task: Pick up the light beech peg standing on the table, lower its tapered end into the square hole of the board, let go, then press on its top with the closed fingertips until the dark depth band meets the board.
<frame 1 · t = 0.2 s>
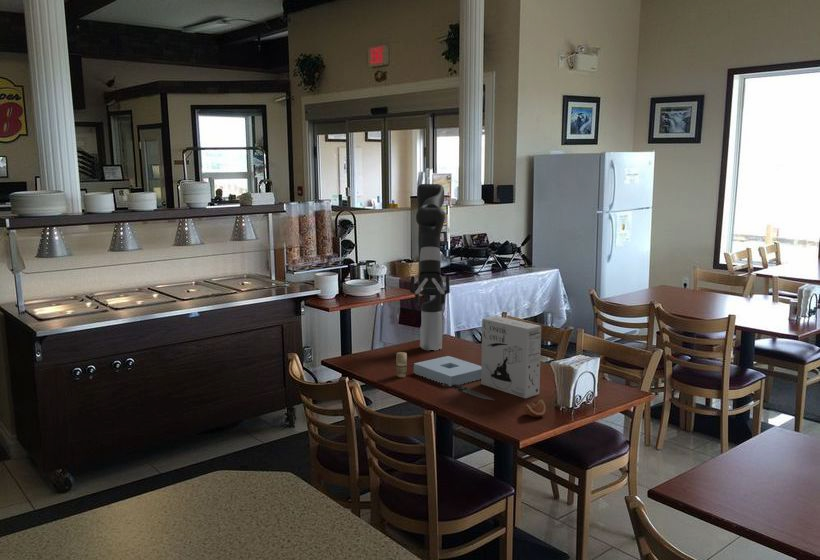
hand: (429, 305, 249), 31 cm above the table, tool tilted 20°, fingers open, 8 cm apart
fruit slice: (533, 416, 225), on the table
cereal box: (509, 389, 252), on the table
knife: (468, 393, 249), on the table
board: (449, 375, 269), on the table
peg: (401, 376, 268), on the table
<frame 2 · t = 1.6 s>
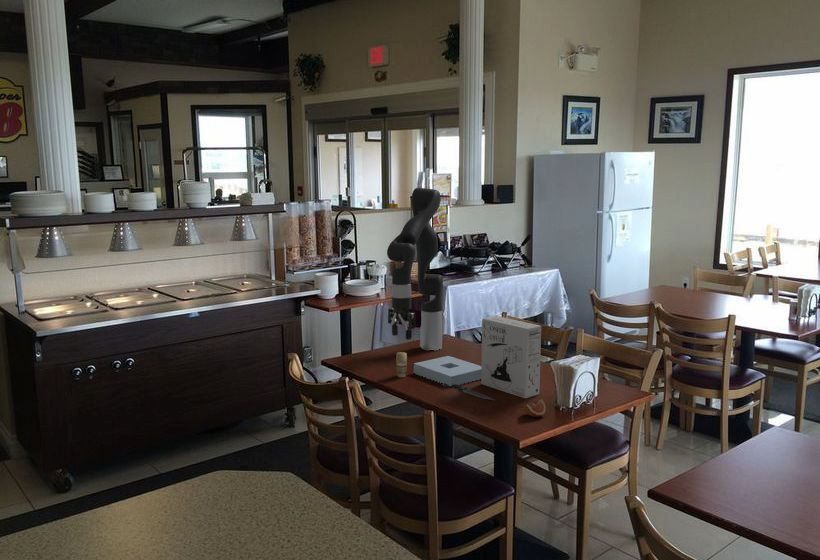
hand: (401, 337, 265), 15 cm above the table, tool pointing down, fingers open, 8 cm apart
nothing on the table moved.
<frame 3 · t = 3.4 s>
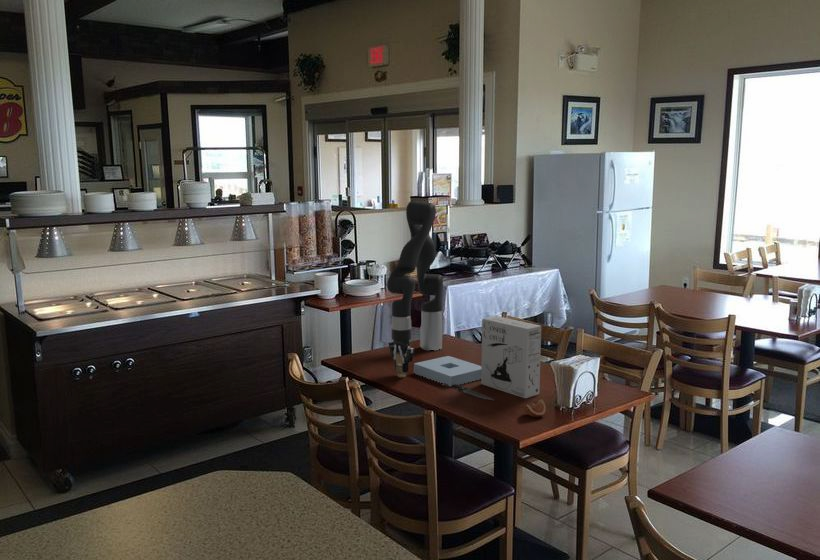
hand: (401, 370, 268), 2 cm above the table, tool pointing down, fingers closed on peg, 4 cm apart
peg: (401, 376, 268), on the table, touching gripper
everything else where it was.
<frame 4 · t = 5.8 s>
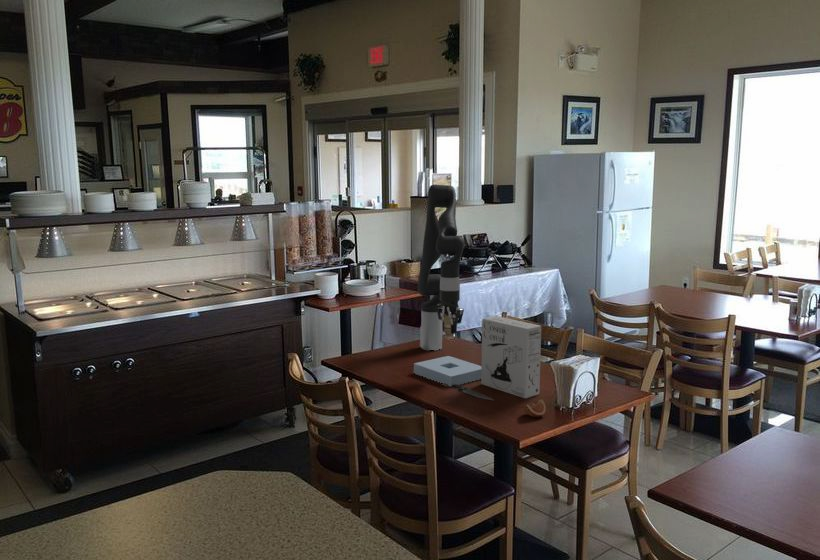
hand: (449, 332, 266), 17 cm above the table, tool pointing down, fingers closed on peg, 4 cm apart
peg: (449, 338, 266), point 15 cm above the table, touching gripper
everything else where it was.
when the fingers open (5 cm above the table, at t = 8.5 s): peg drops 2 cm, resting in board.
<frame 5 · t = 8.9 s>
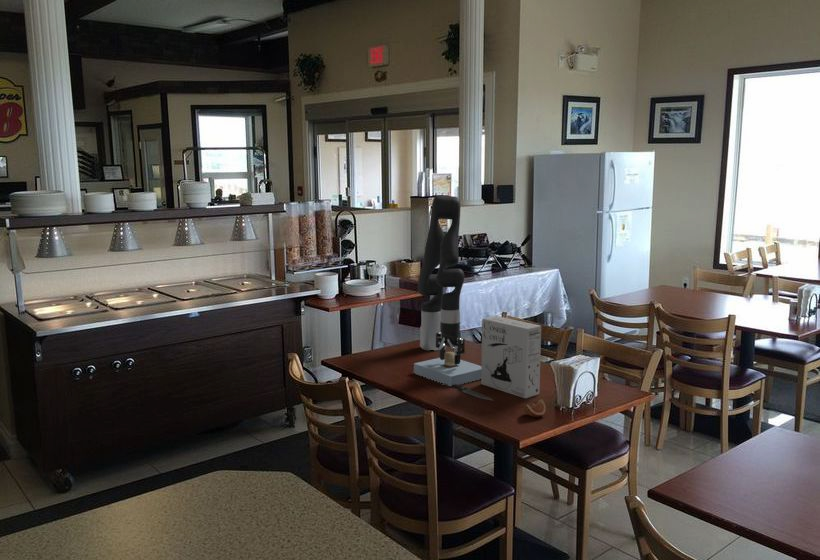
hand: (449, 361, 268), 6 cm above the table, tool pointing down, fingers open, 8 cm apart
peg: (449, 375, 269), resting in board
everything else where it was.
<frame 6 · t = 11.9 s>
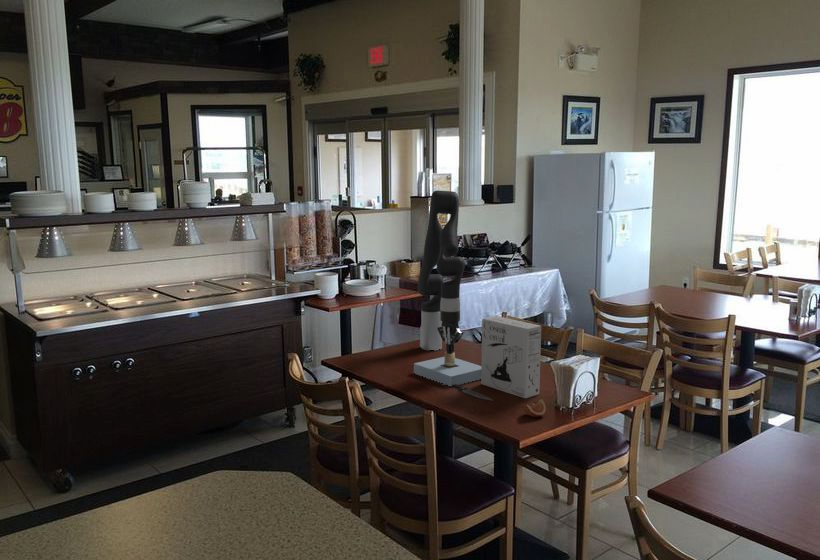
hand: (449, 353, 267), 9 cm above the table, tool pointing down, fingers closed
peg: (449, 375, 269), resting in board, touching gripper
everything else where it was.
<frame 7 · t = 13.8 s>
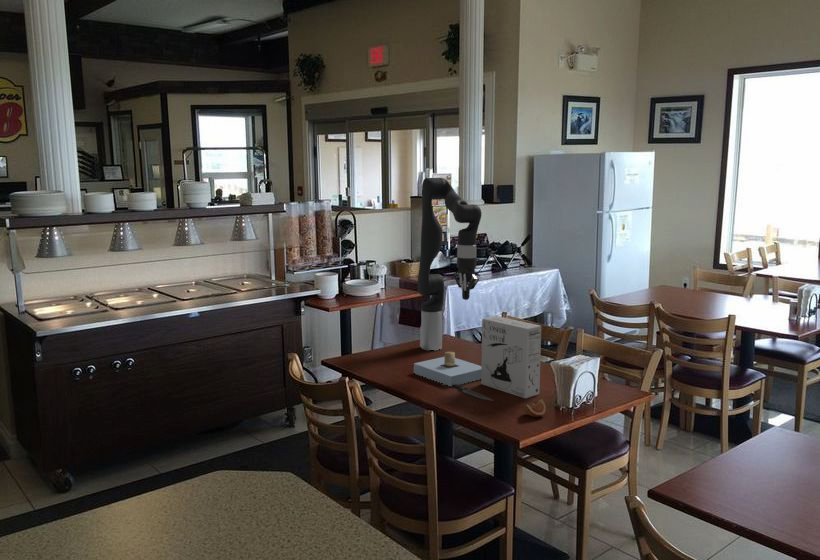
hand: (465, 299, 274), 28 cm above the table, tool pointing down, fingers closed
peg: (449, 375, 269), resting in board
everything else where it was.
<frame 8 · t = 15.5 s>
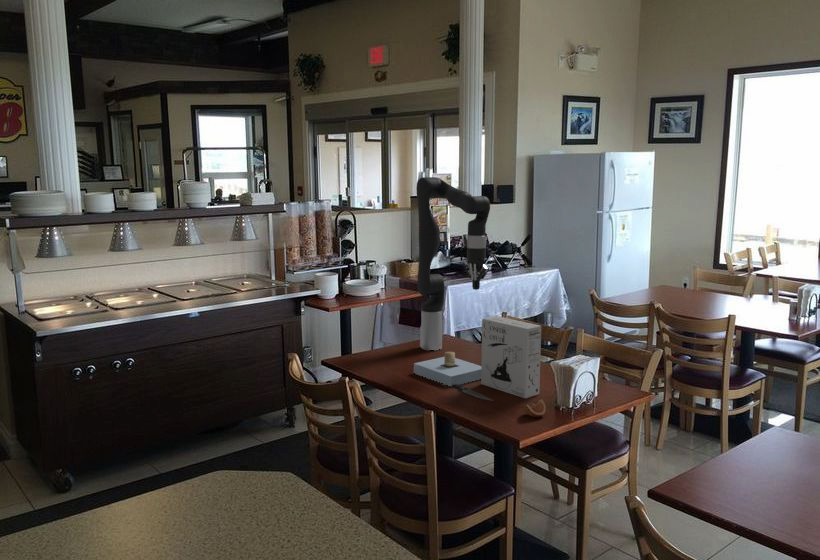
hand: (475, 289, 280), 31 cm above the table, tool pointing down, fingers closed
nothing on the table moved.
at the end: peg 0.1 cm off-centre on the board, point 0.0 cm above the board's base; peg tilted 0°; the gripper is holding nothing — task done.
